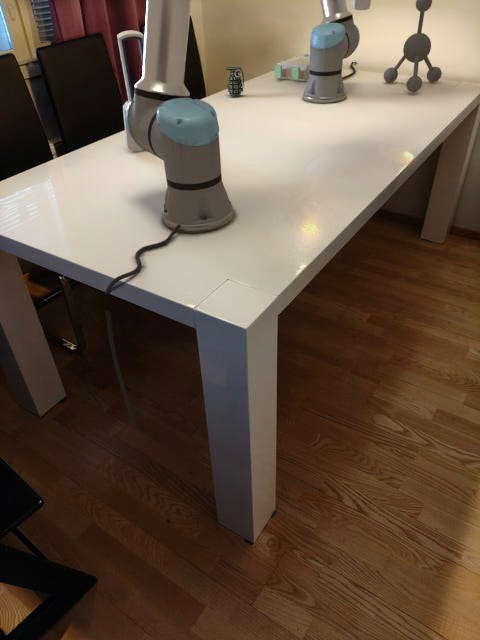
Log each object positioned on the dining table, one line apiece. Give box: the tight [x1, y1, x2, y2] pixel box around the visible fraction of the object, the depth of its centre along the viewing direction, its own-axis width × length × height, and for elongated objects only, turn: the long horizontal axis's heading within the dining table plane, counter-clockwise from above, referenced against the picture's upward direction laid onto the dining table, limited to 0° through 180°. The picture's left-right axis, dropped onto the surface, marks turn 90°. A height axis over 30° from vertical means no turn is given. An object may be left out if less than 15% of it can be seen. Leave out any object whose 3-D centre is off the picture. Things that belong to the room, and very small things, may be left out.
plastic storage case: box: [274, 53, 310, 82], centre depth 211 cm, size 26×6×20 cm
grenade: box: [225, 66, 245, 98], centre depth 187 cm, size 7×6×10 cm
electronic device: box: [116, 29, 145, 153], centre depth 138 cm, size 12×8×30 cm, turn 105°
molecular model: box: [383, 0, 443, 93], centre depth 180 cm, size 24×22×30 cm
